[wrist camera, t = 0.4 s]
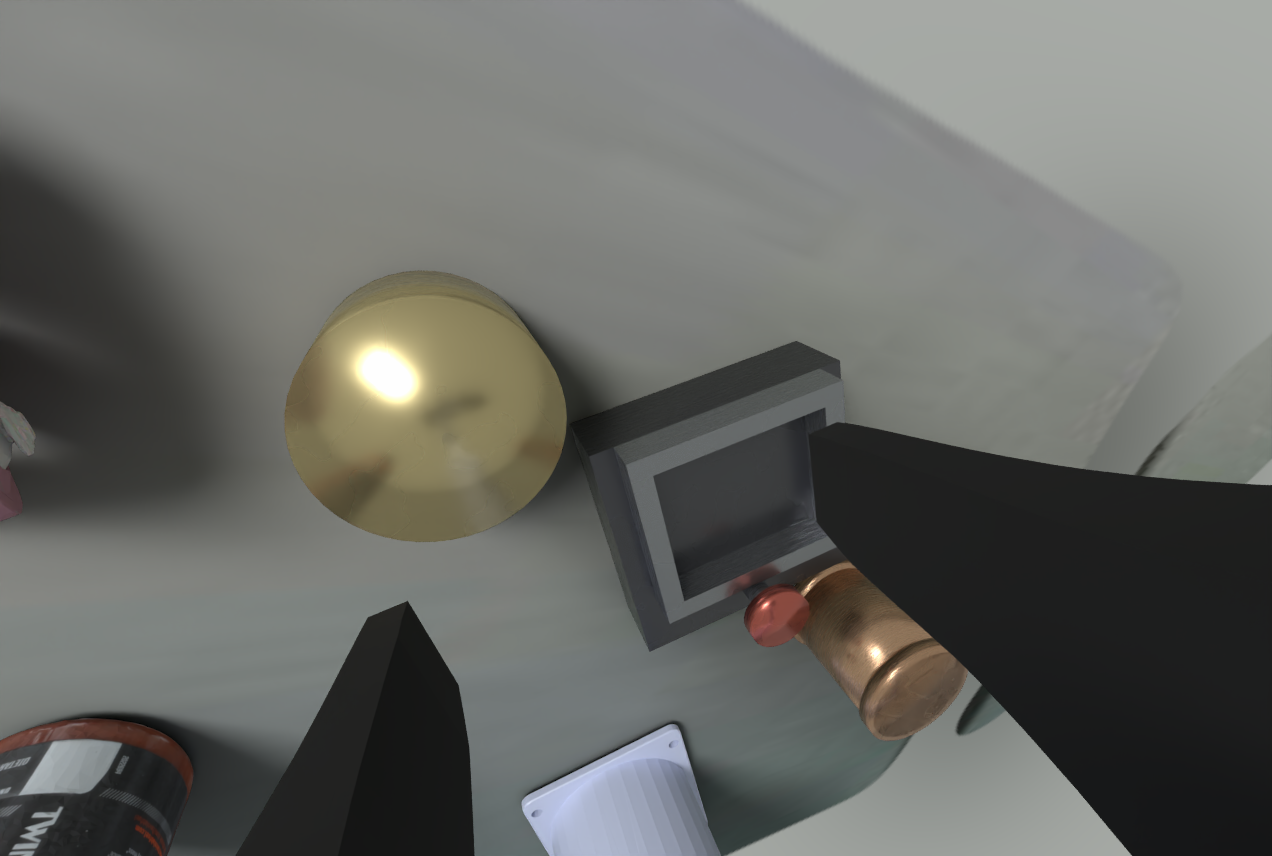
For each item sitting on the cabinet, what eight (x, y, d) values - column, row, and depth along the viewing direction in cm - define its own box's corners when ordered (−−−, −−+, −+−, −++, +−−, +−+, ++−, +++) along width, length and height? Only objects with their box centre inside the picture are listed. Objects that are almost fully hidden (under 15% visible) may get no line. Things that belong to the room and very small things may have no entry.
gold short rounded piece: (562, 430, 19) (593, 487, 16) (373, 500, 18) (363, 578, 14) (499, 242, 16) (522, 262, 13) (266, 310, 15) (221, 352, 11)
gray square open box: (812, 525, 25) (887, 593, 21) (628, 607, 23) (672, 698, 19) (796, 340, 21) (887, 382, 17) (569, 424, 19) (610, 492, 15)
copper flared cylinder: (868, 612, 29) (964, 706, 24) (788, 651, 28) (870, 758, 23) (867, 542, 27) (972, 629, 22) (779, 582, 26) (868, 684, 21)
